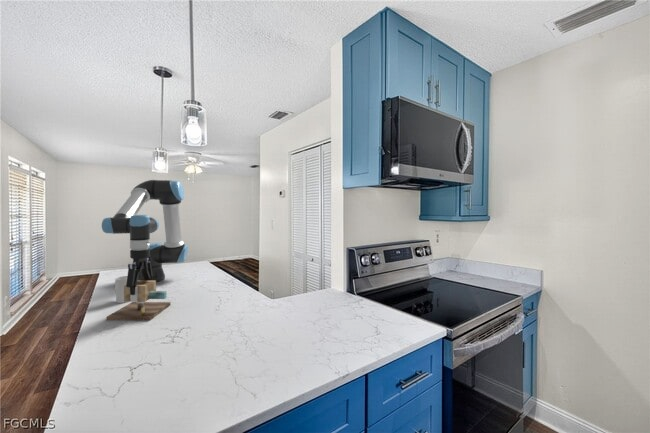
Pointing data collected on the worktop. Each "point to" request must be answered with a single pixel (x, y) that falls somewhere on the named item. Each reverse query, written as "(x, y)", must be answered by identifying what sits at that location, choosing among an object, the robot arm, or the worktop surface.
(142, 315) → the dowel
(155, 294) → the hollow wooden frame
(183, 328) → the worktop surface
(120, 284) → the mug
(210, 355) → the worktop surface
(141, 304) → the post
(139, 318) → the base board
